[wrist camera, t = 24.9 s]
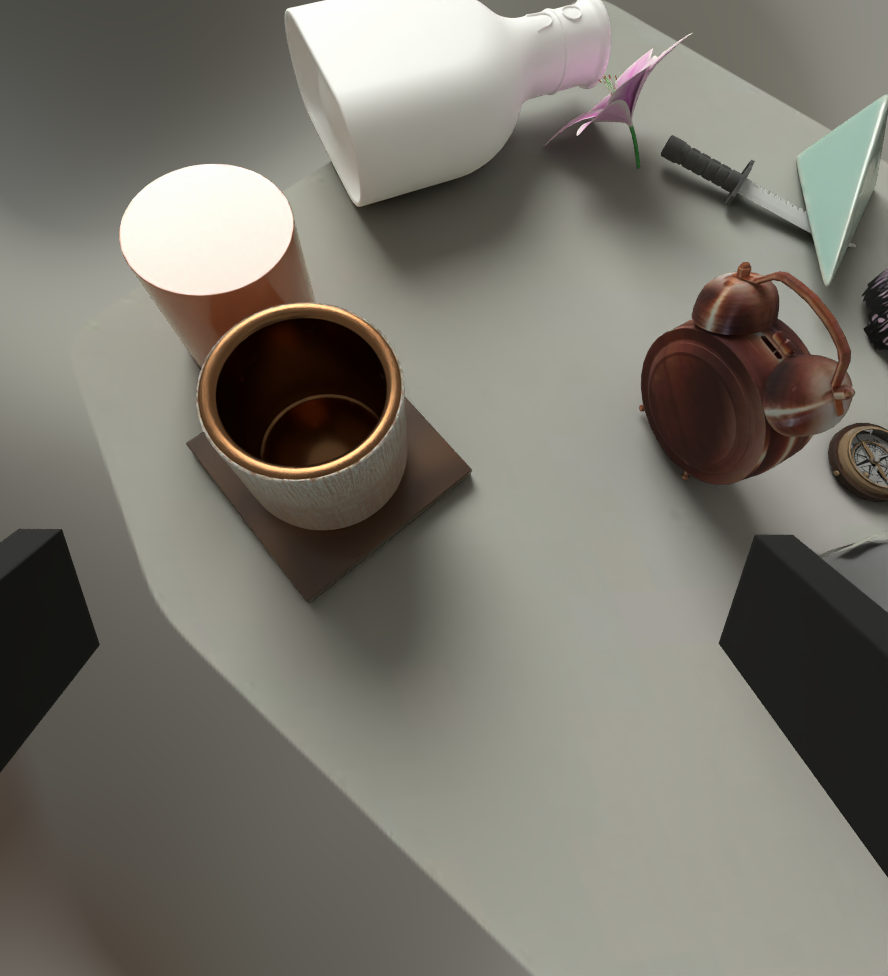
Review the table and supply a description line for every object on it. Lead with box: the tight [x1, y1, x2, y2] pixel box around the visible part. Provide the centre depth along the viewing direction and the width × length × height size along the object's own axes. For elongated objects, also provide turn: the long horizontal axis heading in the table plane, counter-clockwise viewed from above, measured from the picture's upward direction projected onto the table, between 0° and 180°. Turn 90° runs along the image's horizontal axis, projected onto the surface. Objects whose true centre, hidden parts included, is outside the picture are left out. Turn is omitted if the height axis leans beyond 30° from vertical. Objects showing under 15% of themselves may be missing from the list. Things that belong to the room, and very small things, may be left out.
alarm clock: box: [639, 262, 855, 485], centre depth 33 cm, size 11×5×15 cm, turn 25°
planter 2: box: [797, 94, 888, 287], centre depth 46 cm, size 8×6×18 cm
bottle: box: [285, 0, 611, 207], centre depth 45 cm, size 17×25×8 cm
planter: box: [196, 302, 407, 530], centre depth 32 cm, size 11×11×10 cm
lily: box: [543, 34, 690, 168], centre depth 46 cm, size 12×12×10 cm
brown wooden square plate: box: [186, 397, 472, 603], centre depth 37 cm, size 14×14×1 cm
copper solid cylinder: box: [119, 164, 316, 368], centre depth 36 cm, size 10×10×10 cm
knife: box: [661, 135, 856, 247], centre depth 47 cm, size 19×2×5 cm
